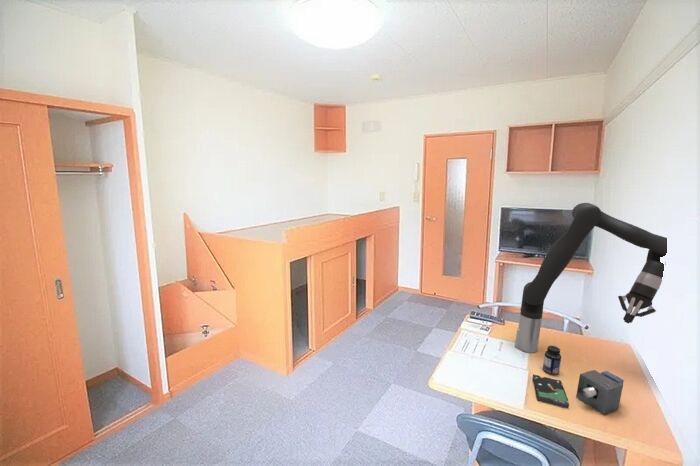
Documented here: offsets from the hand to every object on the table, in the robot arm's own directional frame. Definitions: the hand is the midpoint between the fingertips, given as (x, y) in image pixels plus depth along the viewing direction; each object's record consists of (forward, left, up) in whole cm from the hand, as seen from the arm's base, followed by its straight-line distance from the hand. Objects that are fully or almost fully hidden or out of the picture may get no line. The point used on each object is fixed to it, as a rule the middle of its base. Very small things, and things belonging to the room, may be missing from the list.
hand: (626, 322), depth 136 cm
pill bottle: (-22, -16, -25) cm, 37 cm away
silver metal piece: (-5, -27, -24) cm, 36 cm away
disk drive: (-20, -32, -25) cm, 46 cm away
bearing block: (-6, -28, -25) cm, 37 cm away
